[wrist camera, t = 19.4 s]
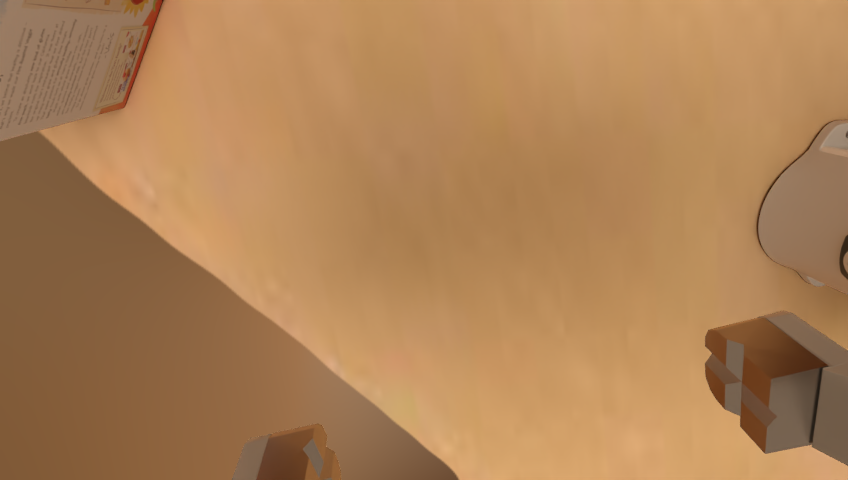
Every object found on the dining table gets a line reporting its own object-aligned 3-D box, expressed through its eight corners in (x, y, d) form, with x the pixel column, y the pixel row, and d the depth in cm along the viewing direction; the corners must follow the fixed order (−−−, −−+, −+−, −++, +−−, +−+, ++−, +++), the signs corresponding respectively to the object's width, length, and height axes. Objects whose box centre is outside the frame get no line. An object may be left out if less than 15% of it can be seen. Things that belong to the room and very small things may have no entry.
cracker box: (105, -94, 36) (-216, -240, 17) (183, -45, 38) (-29, -128, 18) (53, 72, 40) (-250, 107, 21) (125, 110, 42) (-96, 173, 23)
